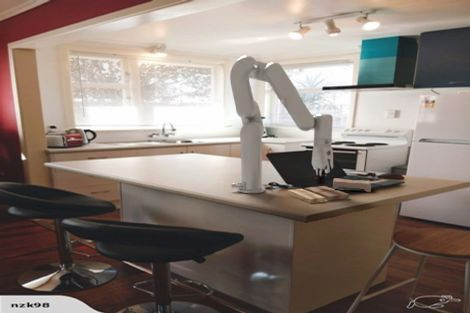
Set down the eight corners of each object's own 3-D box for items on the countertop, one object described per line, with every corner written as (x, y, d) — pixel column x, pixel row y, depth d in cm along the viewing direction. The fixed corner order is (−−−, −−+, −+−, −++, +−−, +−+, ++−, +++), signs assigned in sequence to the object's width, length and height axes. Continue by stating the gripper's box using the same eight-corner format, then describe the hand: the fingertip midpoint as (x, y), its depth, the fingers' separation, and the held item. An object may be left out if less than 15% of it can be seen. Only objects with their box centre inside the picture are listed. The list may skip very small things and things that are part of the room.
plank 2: (328, 200, 140) (328, 196, 140) (316, 195, 148) (316, 192, 148) (349, 197, 144) (349, 194, 144) (336, 193, 152) (336, 189, 152)
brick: (370, 189, 164) (370, 179, 164) (371, 193, 156) (371, 182, 156) (333, 187, 169) (333, 177, 169) (332, 190, 161) (332, 180, 161)
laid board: (309, 203, 137) (310, 198, 137) (287, 194, 154) (287, 189, 154) (327, 201, 140) (327, 197, 140) (303, 192, 157) (303, 188, 157)
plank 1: (315, 195, 149) (315, 191, 149) (304, 191, 157) (304, 188, 157) (335, 193, 152) (335, 189, 152) (323, 189, 160) (323, 186, 160)
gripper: (340, 144, 147) (338, 187, 149) (320, 141, 161) (318, 180, 163) (325, 144, 144) (323, 188, 146) (305, 141, 158) (304, 181, 160)
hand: (320, 184), depth 155 cm, fingers closed
